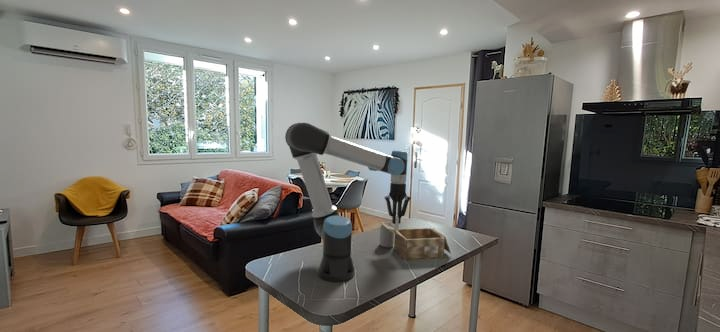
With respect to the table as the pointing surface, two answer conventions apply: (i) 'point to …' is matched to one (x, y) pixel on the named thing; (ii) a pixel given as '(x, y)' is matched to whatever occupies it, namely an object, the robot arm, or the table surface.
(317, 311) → the table surface
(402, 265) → the table surface
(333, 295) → the table surface
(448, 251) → the flap right
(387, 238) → the can
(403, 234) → the carton
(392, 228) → the flap left
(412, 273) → the table surface
